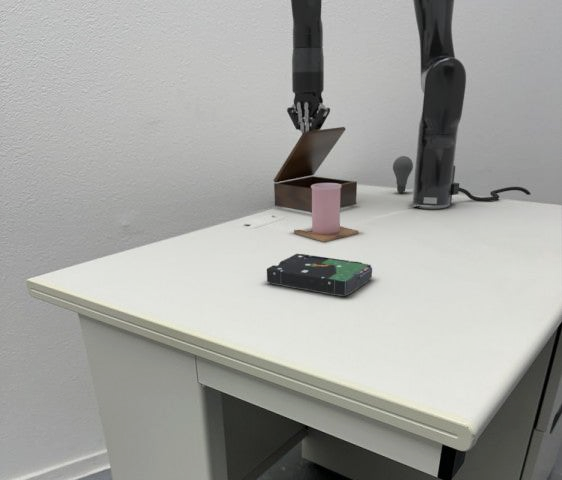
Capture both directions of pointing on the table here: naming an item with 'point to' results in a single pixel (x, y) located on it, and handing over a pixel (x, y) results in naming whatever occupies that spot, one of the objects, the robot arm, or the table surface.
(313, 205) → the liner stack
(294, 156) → the chest lid
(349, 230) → the cork pad
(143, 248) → the table surface
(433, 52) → the robot arm
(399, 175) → the light bulb
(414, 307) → the table surface
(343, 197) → the chest
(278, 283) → the disk drive
